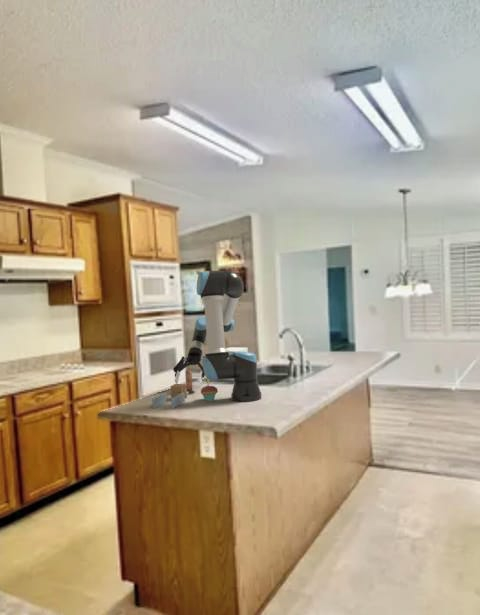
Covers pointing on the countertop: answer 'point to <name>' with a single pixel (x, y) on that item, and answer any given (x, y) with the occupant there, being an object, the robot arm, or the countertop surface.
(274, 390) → the countertop surface
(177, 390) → the tethered block
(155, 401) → the lane
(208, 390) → the cupcake
